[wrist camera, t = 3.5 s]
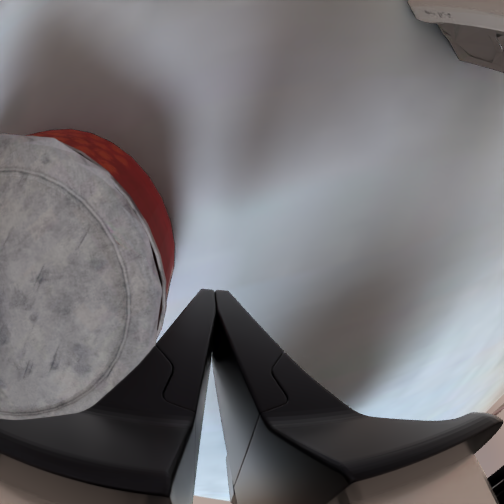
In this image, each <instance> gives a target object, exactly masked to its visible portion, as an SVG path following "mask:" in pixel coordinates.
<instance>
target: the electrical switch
mask: <svg viewBox="0 0 504 504" xmlns="http://www.w3.org/2000/svg"><path fill="white" fill-rule="evenodd" d="M408 4H409V6H410V7H411V9H412V11H413V13H414V15H415V16H416V19H418V20H420V21H424V22H427V23H437V24H438V26H439V28H440V30H441V31H442V33H443V34H444V35H445V37H446V38H447V39H448V40H449V42H450V44H451V45H452V47H453V49H454V51H455V53H456V55H457V57H458V59H459V60H460V61H464V62H468V63H472V64H476V65H480V66H483V67H487V68H490V69H494V70H497V71H500V72H503V73H504V0H408ZM499 44H501V46H502V48H503V51H502V49H501V47H500V45H499Z"/></svg>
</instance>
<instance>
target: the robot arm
mask: <svg viewBox="0 0 504 504" xmlns="http://www.w3.org/2000/svg"><path fill="white" fill-rule="evenodd" d="M211 356H212V365H213V372H214V378H215V385H216V391H217V398H218V404H219V410H220V416H221V422H222V428H223V433H224V439H225V444H226V450H227V457H226V465H227V475H228V485H229V494H230V502H231V503H232V504H504V466H502V467H501V468H500V469H499V470H497V471H496V472H495V473H494V474H492V475H491V476H490V477H489V478H487V477H486V475H485V473H484V472H483V469H482V468H481V466H480V464H479V462H478V460H477V459H476V457H475V455H474V454H475V453H476V452H477V451H478V450H479V449H480V448H481V447H482V446H483V445H485V443H487V442H488V441H489V440H490V439H491V438H492V437H493V435H494V434H496V432H497V431H498V430H499V429H500V427H501V426H502V424H503V420H501V419H500V418H499V417H497V416H495V415H493V414H487V413H478V412H473V413H469V414H467V415H464V416H462V417H459V418H456V419H451V420H442V421H421V420H403V419H389V418H379V417H370V416H366V415H363V414H360V413H358V412H356V411H354V410H352V409H351V408H350V407H348V406H347V405H345V404H344V403H343V402H342V401H340V400H339V399H338V398H336V397H335V396H334V395H333V394H331V393H330V392H329V391H328V390H326V389H325V388H324V387H322V386H321V385H320V384H319V383H317V382H316V381H315V380H314V379H313V378H312V377H310V376H309V375H308V374H307V373H306V372H305V371H303V370H302V369H301V368H300V367H299V366H298V365H297V364H296V363H295V362H294V361H293V360H292V359H291V358H290V357H289V356H288V355H287V354H286V353H285V352H284V351H283V350H282V349H281V348H280V346H279V345H278V344H277V343H276V342H275V341H274V340H273V339H272V338H271V337H270V336H269V335H268V334H267V333H266V332H265V331H264V329H263V328H262V327H261V326H260V325H259V324H258V323H257V322H256V321H255V320H254V319H253V318H252V317H251V315H250V314H249V313H248V312H247V311H246V310H245V309H244V308H243V307H242V306H241V304H240V303H239V302H238V301H237V300H236V299H235V298H234V297H233V296H232V295H231V293H230V292H229V291H223V290H216V291H215V292H214V290H209V289H201V290H200V291H199V292H198V293H197V295H196V296H195V297H194V298H193V299H192V301H191V302H190V303H189V304H188V305H187V307H186V308H185V309H184V310H183V312H182V313H181V314H180V315H179V316H178V318H177V319H176V320H175V321H174V322H173V324H172V325H171V326H170V327H169V329H168V330H167V331H166V332H165V333H164V335H163V336H162V337H161V338H160V340H159V341H158V342H157V343H156V344H155V346H154V347H153V348H152V349H151V350H150V352H149V353H148V354H147V355H146V356H145V357H144V359H143V360H142V361H141V362H140V363H139V364H138V365H137V366H136V367H135V368H134V369H133V370H132V371H131V372H130V373H129V374H128V375H127V376H126V377H125V378H123V379H122V380H121V381H120V382H119V383H118V384H117V385H116V386H115V387H113V388H112V389H111V390H110V391H109V392H108V393H107V394H106V395H105V396H103V397H102V398H101V399H100V400H99V401H98V402H97V403H95V404H94V405H93V406H91V407H90V408H88V409H86V410H84V411H81V412H78V413H72V414H66V415H58V416H51V417H43V418H33V419H23V420H8V419H1V418H0V504H193V495H194V485H195V478H196V469H197V461H198V453H199V445H200V438H201V430H202V422H203V415H204V408H205V400H206V393H207V386H208V379H209V372H210V365H211Z"/></svg>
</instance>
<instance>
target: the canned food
mask: <svg viewBox="0 0 504 504" xmlns="http://www.w3.org/2000/svg"><path fill="white" fill-rule="evenodd" d="M174 253H175V243H174V237H173V232H172V226H171V221H170V218H169V215H168V213H167V210H166V207H165V205H164V202H163V199H162V197H161V195H160V194H159V192H158V191H157V189H156V187H155V186H154V184H153V182H152V181H151V179H150V177H149V176H148V175H147V173H146V172H145V171H144V170H143V169H142V168H141V167H140V166H139V165H138V163H137V162H136V161H135V160H134V159H133V158H132V157H131V156H130V155H128V154H127V153H126V152H124V151H123V150H122V149H120V148H119V147H118V146H116V145H115V144H114V143H112V142H110V141H108V140H106V139H104V138H101V137H99V136H97V135H95V134H92V133H89V132H84V131H78V130H73V129H61V130H49V131H44V132H39V133H34V134H29V135H25V136H23V135H13V134H2V133H0V418H1V419H8V420H23V419H33V418H43V417H51V416H58V415H66V414H72V413H78V412H81V411H84V410H86V409H88V408H90V407H91V406H93V405H94V404H95V403H97V402H98V401H99V400H100V399H101V398H102V397H103V396H105V395H106V394H107V393H108V392H109V391H110V390H111V389H112V388H113V387H115V386H116V385H117V384H118V383H119V382H120V381H121V380H122V379H123V378H125V377H126V376H127V375H128V374H129V373H130V372H131V371H132V370H133V369H134V368H135V367H136V366H137V365H138V364H139V363H140V362H141V361H142V360H143V359H144V357H145V356H146V355H147V354H148V353H149V352H150V350H151V349H152V348H153V347H154V346H155V344H156V339H157V337H158V335H159V333H160V331H161V329H162V326H163V321H164V316H165V312H166V307H167V296H168V291H169V287H170V282H171V278H172V273H173V269H174Z"/></svg>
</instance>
